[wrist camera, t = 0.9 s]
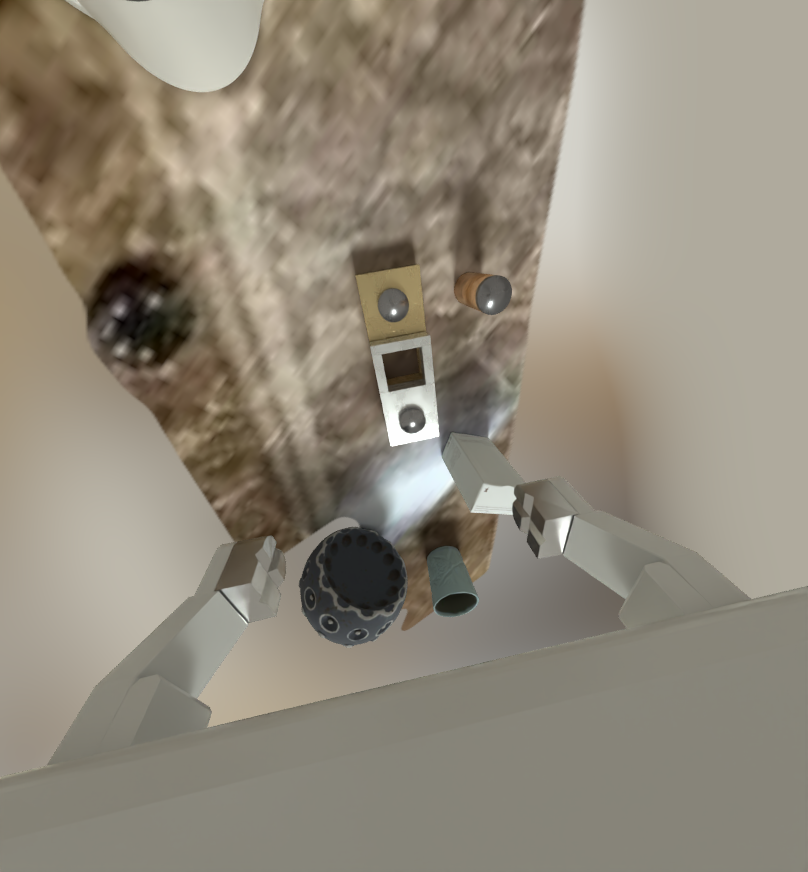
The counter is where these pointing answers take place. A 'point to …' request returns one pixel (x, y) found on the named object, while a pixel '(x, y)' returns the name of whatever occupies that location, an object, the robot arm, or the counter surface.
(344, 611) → the scalloped baking dish
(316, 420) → the counter surface
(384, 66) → the counter surface
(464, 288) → the pin
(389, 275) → the chain joint
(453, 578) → the teal plant pot
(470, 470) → the skincare box
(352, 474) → the counter surface
